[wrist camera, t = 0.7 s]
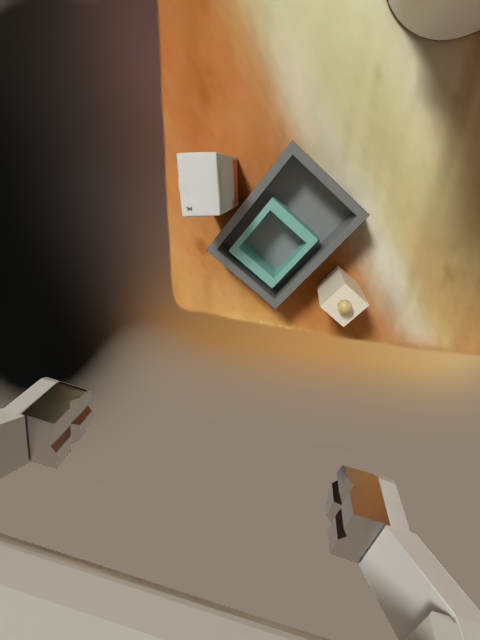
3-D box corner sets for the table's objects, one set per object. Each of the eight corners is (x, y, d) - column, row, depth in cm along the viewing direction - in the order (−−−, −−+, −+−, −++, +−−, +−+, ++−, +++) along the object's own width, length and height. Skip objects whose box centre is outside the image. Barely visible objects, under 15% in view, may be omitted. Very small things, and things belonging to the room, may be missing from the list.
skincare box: (240, 205, 44) (220, 218, 33) (209, 206, 45) (180, 218, 34) (238, 155, 42) (217, 151, 31) (205, 156, 42) (174, 153, 32)
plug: (337, 265, 45) (346, 286, 37) (358, 283, 46) (370, 308, 38) (316, 285, 47) (320, 309, 39) (336, 303, 48) (344, 330, 40)
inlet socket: (274, 195, 42) (272, 197, 39) (316, 234, 43) (318, 240, 40) (234, 244, 46) (228, 250, 42) (274, 279, 47) (272, 288, 43)
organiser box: (293, 143, 40) (292, 139, 36) (362, 209, 42) (369, 215, 37) (215, 242, 47) (206, 250, 42) (277, 296, 49) (275, 309, 44)
